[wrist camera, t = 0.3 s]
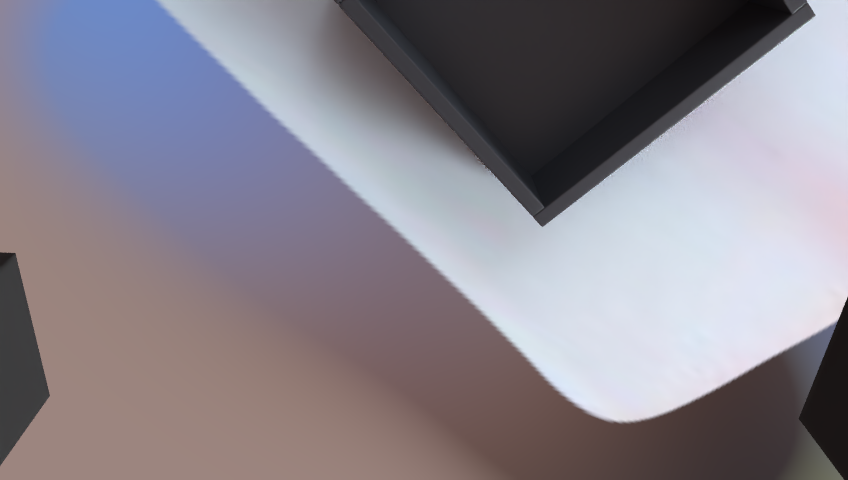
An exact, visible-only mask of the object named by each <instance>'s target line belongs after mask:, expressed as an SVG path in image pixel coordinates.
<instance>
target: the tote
mask: <svg viewBox="0 0 848 480" xmlns="http://www.w3.org/2000/svg"><path fill="white" fill-rule="evenodd" d="M334 1H335V2H336V3H337V4H339V3H340V4H339V6H340V7H341V8H342V10H343V11H344V12H345V13H346V14H347V15H348V16H349V17H350V18H351V19H352V20H353V22H354V23H355V24H356V25H357V26H358V27H359V28H360V29H361V30H362V31H363V32H364V33H365V35H366V36H367V37H368V38H369V39H370V40H371V41H372V42H373V43H374V44H375V45H376V47H377V48H378V49H379V50H380V51H381V52H382V53H383V54H384V55H385V56H386V57H387V59H388V60H389V61H390V62H391V63H392V64H393V65H394V66H395V67H396V68H397V69H398V71H399V72H400V73H401V74H402V75H403V76H404V77H405V78H406V79H407V80H408V81H409V82H410V84H411V85H412V86H413V87H414V88H415V89H416V90H417V91H418V92H419V93H420V94H421V96H422V97H423V98H424V99H425V100H426V101H427V102H428V103H429V104H430V105H431V106H432V108H433V109H434V110H435V111H436V112H437V113H438V114H439V115H440V116H441V117H442V118H443V120H444V121H445V122H446V123H447V124H448V125H449V126H450V127H451V128H452V129H453V130H454V131H455V133H456V134H457V135H458V136H459V137H460V138H461V139H462V140H463V141H464V142H465V143H466V145H467V146H468V147H469V148H470V149H471V150H472V151H473V152H474V153H475V154H476V155H477V157H478V158H479V159H480V160H481V161H482V162H483V163H484V164H485V165H486V166H487V167H488V169H489V170H490V171H491V172H492V173H493V174H494V175H495V176H496V177H497V178H498V179H499V180H500V182H501V183H502V184H503V185H504V186H505V187H506V188H507V189H508V190H509V191H510V192H511V194H512V195H513V196H514V197H515V198H516V199H517V200H518V201H519V202H520V203H521V204H522V206H523V207H524V208H525V209H526V210H527V211H528V212H529V213H530V214H531V215H532V216H533V217H534V219H535V220H536V221H537V222H538V223H539V224H540V225H541V226H542V227H543V226H544V225H546V224H547V223H548V222H550V221H551V220H552V219H553V218H555V217H556V216H557V215H559V214H560V213H561V212H562V211H564V210H565V209H566V208H568V207H569V206H570V205H572V204H573V203H574V202H575V201H577V200H578V199H579V198H581V197H582V196H583V195H584V194H586V193H587V192H588V191H590V190H591V189H592V188H594V187H595V186H596V185H597V184H599V183H600V182H601V181H603V180H604V179H605V178H606V177H608V176H609V175H610V174H612V173H613V172H614V171H616V170H617V169H618V168H619V167H621V166H622V165H623V164H625V163H626V162H627V161H628V160H630V159H631V158H632V157H634V156H635V155H636V154H638V153H639V152H640V151H641V150H643V149H644V148H645V147H647V146H648V145H649V144H650V143H652V142H653V141H654V140H656V139H657V138H658V137H660V136H661V135H662V134H663V133H665V132H666V131H667V130H669V129H670V128H671V127H673V126H674V125H675V124H676V123H678V122H679V121H680V120H682V119H683V118H684V117H685V116H687V115H688V114H689V113H691V112H692V111H693V110H695V109H696V108H697V107H698V106H700V105H701V104H702V103H704V102H705V101H706V100H707V99H709V98H710V97H711V96H713V95H714V94H715V93H717V92H718V91H719V90H720V89H722V88H723V87H724V86H726V85H727V84H728V83H729V82H731V81H732V80H733V79H735V78H736V77H737V76H739V75H740V74H741V73H742V72H744V71H745V70H746V69H748V68H749V67H750V66H751V65H753V64H754V63H755V62H757V61H758V60H759V59H761V58H762V57H763V56H764V55H766V54H767V53H768V52H770V51H771V50H772V49H773V48H775V47H776V46H777V45H779V44H780V43H781V42H783V41H784V40H785V39H786V38H788V37H789V36H790V35H792V34H793V33H794V32H795V31H797V30H798V29H799V28H801V27H802V26H803V25H805V24H806V23H807V22H808V21H810V20H811V19H812V18H814V17H815V14H814V12H813V10H812V9H811V7H810V6H809V4H808V3H807V0H334Z"/></svg>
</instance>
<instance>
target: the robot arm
mask: <svg viewBox="0 0 848 480" xmlns="http://www.w3.org/2000/svg"><path fill="white" fill-rule="evenodd" d="M49 396H50V395H49V390H48V386H47V382H46V378H45V374H44V370H43V366H42V362H41V358H40V353H39V349H38V345H37V341H36V337H35V333H34V329H33V325H32V320H31V316H30V312H29V308H28V304H27V300H26V296H25V291H24V287H23V283H22V279H21V275H20V271H19V267H18V262H17V258H16V254H15V253H0V465H1V464H2V462H3V461H4V460H5V458H6V457H7V455H8V454H9V452H10V451H11V450H12V448H13V447H14V446H15V444H16V443H17V441H18V440H19V438H20V437H21V436H22V434H23V433H24V431H25V430H26V428H27V427H28V426H29V424H30V423H31V422H32V420H33V419H34V417H35V416H36V414H37V413H38V412H39V410H40V409H41V407H42V406H43V405H44V403H45V402H46V400H47V399H48V398H49ZM799 420H800V421H801V422H802V424H803V425H804V426H805V428H806V429H807V430H808V432H809V433H810V434H811V436H812V437H813V438H814V440H815V441H816V442H817V444H818V445H819V446H820V447H821V449H822V450H823V452H824V453H825V454H826V456H827V457H828V458H829V460H830V461H831V462H832V464H833V465H834V466H835V468H836V469H837V471H838V472H839V473H840V475H841V476H842V477H843V479H844V480H848V298H847V300H846V302H845V305H844V307H843V310H842V312H841V315H840V317H839V320H838V322H837V325H836V328H835V330H834V333H833V335H832V338H831V340H830V342H829V345H828V348H827V350H826V352H825V355H824V357H823V360H822V362H821V365H820V367H819V370H818V373H817V375H816V377H815V380H814V382H813V385H812V387H811V390H810V392H809V395H808V397H807V399H806V402H805V405H804V407H803V410H802V412H801V414H800V417H799Z"/></svg>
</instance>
